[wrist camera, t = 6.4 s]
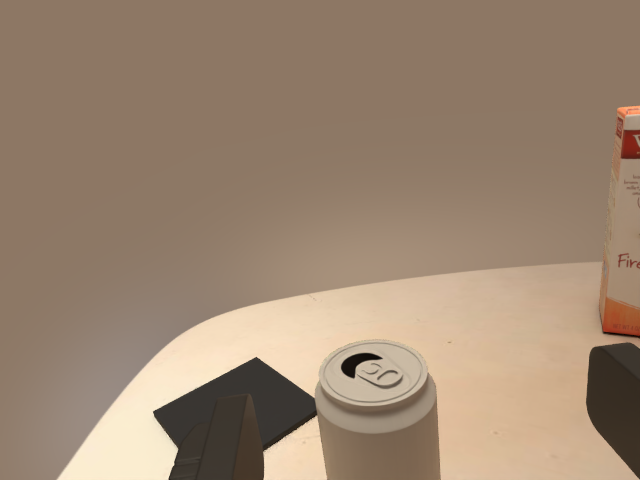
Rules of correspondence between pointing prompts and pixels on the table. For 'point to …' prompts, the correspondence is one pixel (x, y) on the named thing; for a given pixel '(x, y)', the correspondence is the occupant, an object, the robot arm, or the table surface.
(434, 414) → the beverage can
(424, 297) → the table surface
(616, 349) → the robot arm
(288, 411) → the mat
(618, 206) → the cracker box
